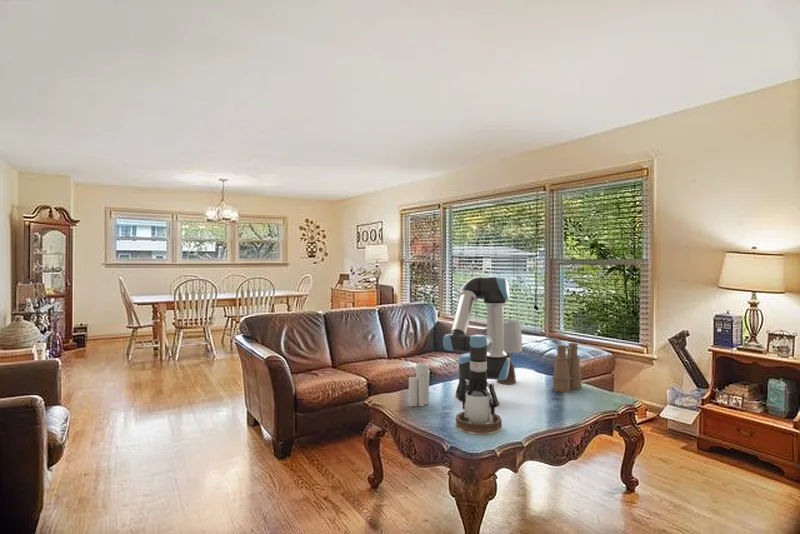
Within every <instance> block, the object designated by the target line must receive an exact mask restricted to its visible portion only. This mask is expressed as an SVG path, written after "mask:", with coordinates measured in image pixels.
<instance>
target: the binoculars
mask: <svg viewBox="0 0 800 534" xmlns="http://www.w3.org/2000/svg"><path fill="white" fill-rule="evenodd" d="M578 345H579V343H578V342H577V343H576V342H568V347H567V345H566V344H557V345H556V347H557V348H556V351H557V352H556V353H557V356H556V357H555V358H554V359H555V363H554V368H553V369H554V370H553V376H552V377H551V379H552V390H553V391H556V392H559V391H560V392H561V393H566V392H567V393H568V392H571V389H572V390H575V389H576V390H579V389H582V378H583V375H582V370H581V364H580V356H579V355H578V349H579V347H578ZM566 352H567V353H566Z"/></svg>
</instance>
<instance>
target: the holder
mask: <svg viewBox="0 0 800 534" xmlns="http://www.w3.org/2000/svg"><path fill="white" fill-rule="evenodd" d="M455 420H456V421H455V427H456V429H458V430H460V431H461V432H463V431H464V432H463V433H466V434H471V435H492V434H495V433H498V432H500V431H501V430H502V429H503V428H502V424H503V423H502V418H501V416H500V415H499V414H496V413H495V414H494V415H493V421H492V422H491V423H489V418H488V420H487V422H486V423H485V424H472V423H471V422H470V421H469V419H468V417H467V418H464V411H461V412H459V413H457V414H456V415H455Z"/></svg>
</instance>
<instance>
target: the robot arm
mask: <svg viewBox="0 0 800 534" xmlns="http://www.w3.org/2000/svg"><path fill="white" fill-rule="evenodd" d="M510 295H511V294H510V286H509V282H508V280H507V278H506V277H503V276H474V277H472V278H470V279H468V280H467V281H466V282H465V283H464V284H462V286H461V288H460V290H459V292H458V299H459V300H458V303H457V306H456V311H455V314H454V318H453V322H452V325H451V330H450V333H448V334H447V333H446V334H445V335H444V336H443V338H442V346H443V348H444V350H446V351H452V352H453V351H454V352H455V351H456V352H466V353H462V354H461V355H460V356H459V359H458V385H457V387H456V391H455V397H456V398H457V399H458V401H459V402H461V403H462V410H463V412H464V418H467V417H468V416H467V412H466V392H467V391H469V392H468V395H471V394H472V393H473V391H479V392H482V393H483V394H484V396H485V397H486V396H489V393H490V394H491V398H490V400H489V405H490V407H489V423H491V422H492V421H493V415H494V414H496V408H497V407H499V406H500V403H499V399H498V397H497V393H496V391H495V383H493V382H492V383H488V380H496V381H497V380H505V379H506V378H507V376H508V372H509V367H510V358H507V354H506V353H505V352H504V319H505V318H504V306H505V305H506V304H507V301H508V300H510V297H511V296H510ZM478 299H480V300H481V299H482V300H483V303H484V304H485V305H486V334H472V335H468V334H467V332H468V328H469V324H470V321H471V320H470V318H471V315H472V311H473V308H474V304H475V303H476V302H477V300H478ZM487 387H488V389H489V391H488V389H487ZM488 392H489V393H488Z"/></svg>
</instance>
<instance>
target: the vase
mask: <svg viewBox="0 0 800 534" xmlns="http://www.w3.org/2000/svg"><path fill="white" fill-rule="evenodd" d="M418 404H419V405H418ZM426 404H428V405H429V404H430V364H429V363H426V362H425V363H424V362H420V363H416V364H415V376H410V377H408V406H409V407H411V406H415V407H419V406H423V407H424V406H427V405H426ZM417 405H418V406H417Z"/></svg>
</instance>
